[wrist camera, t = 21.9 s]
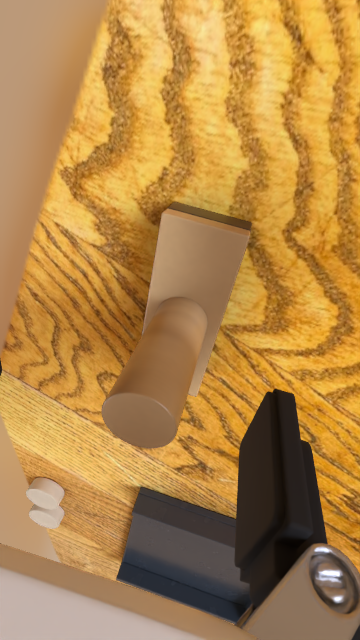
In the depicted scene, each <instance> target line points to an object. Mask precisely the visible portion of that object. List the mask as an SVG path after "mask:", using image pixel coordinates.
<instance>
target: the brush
mask: <svg viewBox="0 0 360 640" xmlns="http://www.w3.org/2000/svg"><path fill="white" fill-rule="evenodd" d="M251 226H252V223H251V222H248V221H245V220H241V219H237V218H233V217H230V216H226V215H222V214H219V213H215V212H211V211H207V210H204V209H200V208H196V207H193V206H189V205H185V204H181V203H178V202H173V203H172V204H171V205H170V206H169V207H168V208H167V209H166V210H165V211H164V212H163V213H162V215H161V221H160V227H159V233H158V239H157V245H156V251H155V258H154V264H153V270H152V276H151V282H150V288H149V294H148V300H147V306H146V312H145V318H144V324H143V330H142V336H141V339H140V341H139V342H138V344H137V346H136V348H135V349H134V351H133V353H132V355H131V356H130V358H129V360H128V361H127V363H126V365H125V367H124V368H123V370H122V372H121V374H120V375H119V377H118V379H117V381H116V382H115V384H114V386H113V388H112V389H111V391H110V393H109V394H108V396H107V398H106V400H105V401H104V403H103V406H102V417H103V420H104V422H105V424H106V426H107V427H108V428H109V429H110V431H111V432H112V433H113V434H115V435H116V436H117V437H119V438H120V439H122V440H123V441H125V442H127V443H129V444H132V445H135V446H138V447H143V448H158V447H162V446H165V445H167V444H169V443H170V442H171V441H172V440H173V439H174V438H175V436H176V434H177V430H178V427H179V423H180V420H181V416H182V413H183V409H184V406H185V402H186V399H187V395H191V396H195V397H196V396H197V395H198V392H199V389H200V386H201V383H202V380H203V377H204V374H205V371H206V368H207V365H208V362H209V359H210V356H211V353H212V350H213V347H214V344H215V341H216V338H217V334H218V331H219V328H220V325H221V322H222V319H223V316H224V313H225V310H226V307H227V304H228V301H229V298H230V295H231V292H232V289H233V286H234V283H235V280H236V277H237V274H238V271H239V268H240V265H241V262H242V259H243V256H244V253H245V250H246V247H247V244H248V241H249V238H250V232H251Z"/></svg>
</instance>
